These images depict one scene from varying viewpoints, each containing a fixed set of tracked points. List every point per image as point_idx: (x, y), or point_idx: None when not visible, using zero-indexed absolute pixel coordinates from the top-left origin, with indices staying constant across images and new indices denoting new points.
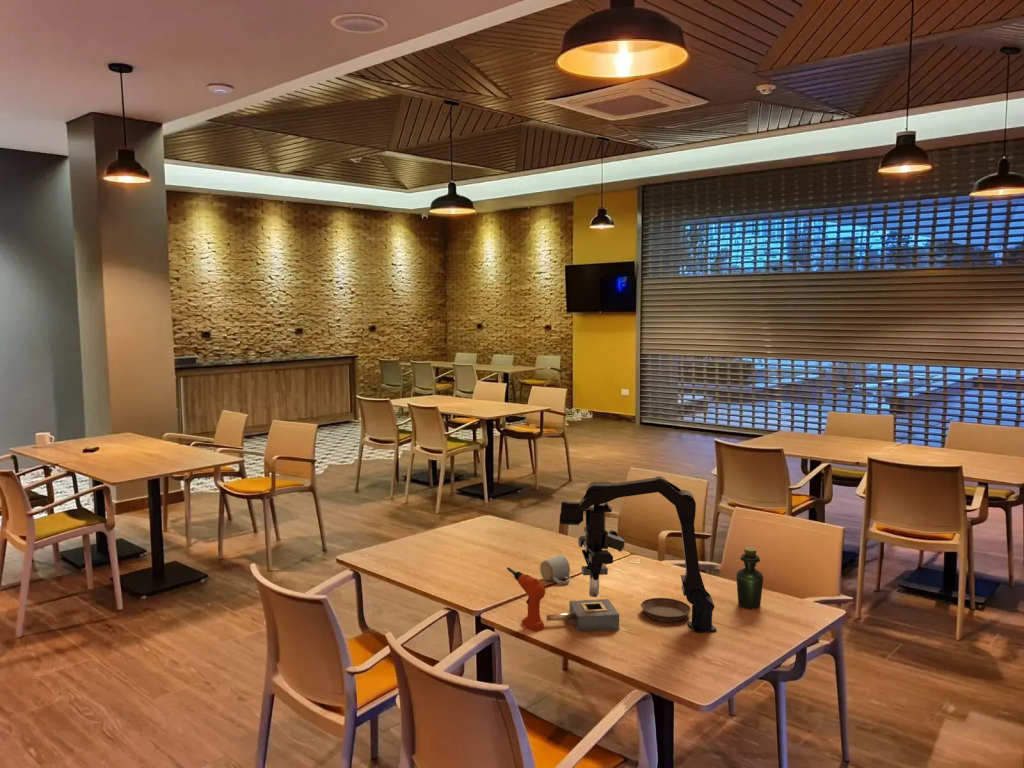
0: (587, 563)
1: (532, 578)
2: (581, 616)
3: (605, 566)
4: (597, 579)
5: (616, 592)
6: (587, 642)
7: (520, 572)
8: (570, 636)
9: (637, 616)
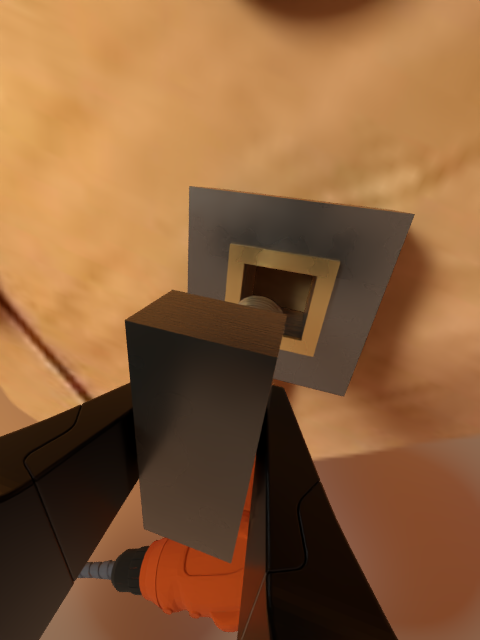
0: (114, 515)
1: (201, 614)
2: (347, 386)
3: (170, 341)
4: (283, 390)
5: (3, 49)
6: (434, 370)
7: (120, 584)
8: (359, 392)
9: (282, 35)
